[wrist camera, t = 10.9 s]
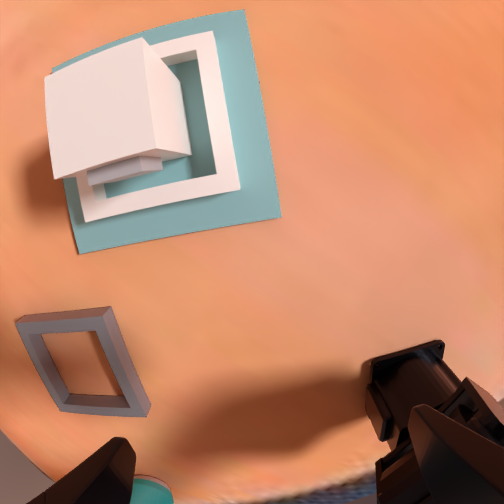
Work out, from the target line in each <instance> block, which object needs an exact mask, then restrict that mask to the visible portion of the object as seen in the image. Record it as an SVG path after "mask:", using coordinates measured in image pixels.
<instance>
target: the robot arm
mask: <svg viewBox="0 0 504 504" xmlns="http://www.w3.org/2000/svg"><path fill="white" fill-rule="evenodd" d="M439 345H440V346H439ZM438 346H439V347H438ZM444 348H445V343H444V342H443V341H442V340H437V341H434V342H431V343H427V344H424V345H421V346H418V347H415V348H411V349H408V350H405V351H401V352H398V353H394V354H391V355H387V356H383V357H379V358H376V359H374V360H373V361H372V363H371V371H370V384H368V385H367V387H366V401H365V409H366V411H367V415H368V417H369V419H370V420H371V422H372V425H373V427H374V429H375V432H376V434H377V436H378V439H379V440H380V441H382V442H384V441H387V442H388V444H389V447H390V449H391V452H390V453H388V454H387V455H386V456H385V457H383V458H380V459H379V460H378V461H377V462H375V466H376V487H377V504H504V409H503V407H502V406H501V405H500V404H499V403H498V402H497V401H496V400H495V399H494V398H493V397H492V396H491V395H490V394H489V393H488V392H487V391H486V390H484V389H483V388H481V387H480V386H479V385H477V384H476V383H475V382H473V381H472V380H471V379H469V378H468V377H466V378H465V379H464V380H463V381H462V382H461V381H460V380H459V378H458V377H457V376H456V375H455V374H454V373H453V371H452V370H451V369H450V368H449V367H448V366H447V365H446V363H445V362H444V361H443V360H442V359H443V354H444ZM377 364H379V365H378V366H376V365H377ZM135 464H136V454H135V452H134V450H133V448H132V447H131V445H130V443H129V442H128V440H127V439H126V438H122V437H114V438H112V439H111V440H110V441H108V442H107V443H106V444H105V445H103V446H102V447H101V448H100V449H98V450H97V451H96V452H95V453H93V454H92V455H91V456H90V457H88V458H87V459H86V460H85V461H83V462H82V463H81V464H79V465H78V466H77V467H76V468H74V469H73V470H72V471H70V472H69V473H68V474H67V475H65V476H64V477H63V478H61V479H60V480H59V481H57V482H56V483H55V484H53V485H52V486H51V487H49V488H48V489H47V490H46V491H45V492H42V493H41V494H40V495H39V496H37V497H36V498H34V499H33V500H31V501H30V502H28V503H26V504H130V501H131V496H132V490H133V481H134V472H135Z"/></svg>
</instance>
